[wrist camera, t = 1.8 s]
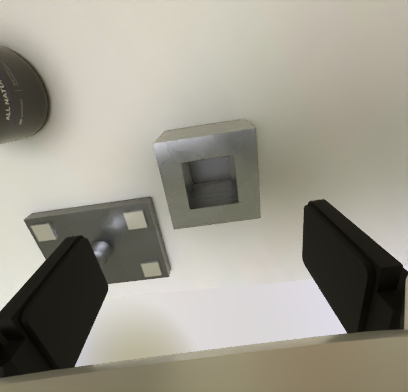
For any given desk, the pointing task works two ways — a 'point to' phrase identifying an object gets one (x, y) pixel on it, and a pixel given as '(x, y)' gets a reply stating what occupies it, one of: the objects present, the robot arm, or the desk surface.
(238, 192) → the block
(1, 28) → the desk surface
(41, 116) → the supplement bottle
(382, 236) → the desk surface
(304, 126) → the desk surface
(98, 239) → the stand
